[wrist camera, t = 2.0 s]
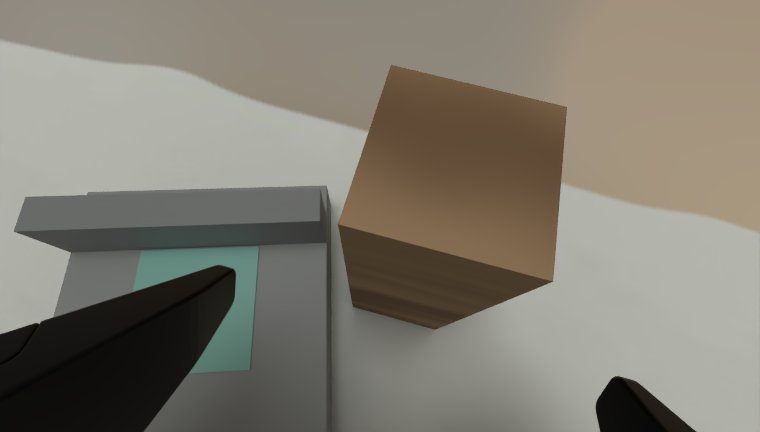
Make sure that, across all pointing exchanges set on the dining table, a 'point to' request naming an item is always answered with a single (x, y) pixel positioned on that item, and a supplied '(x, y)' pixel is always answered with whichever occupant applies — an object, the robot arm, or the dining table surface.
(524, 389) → the dining table surface
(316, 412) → the base slab
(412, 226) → the walnut pillar
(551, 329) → the dining table surface
